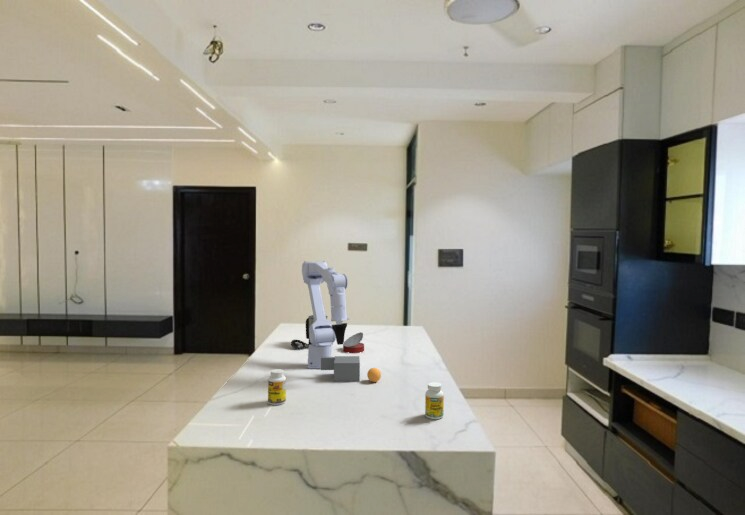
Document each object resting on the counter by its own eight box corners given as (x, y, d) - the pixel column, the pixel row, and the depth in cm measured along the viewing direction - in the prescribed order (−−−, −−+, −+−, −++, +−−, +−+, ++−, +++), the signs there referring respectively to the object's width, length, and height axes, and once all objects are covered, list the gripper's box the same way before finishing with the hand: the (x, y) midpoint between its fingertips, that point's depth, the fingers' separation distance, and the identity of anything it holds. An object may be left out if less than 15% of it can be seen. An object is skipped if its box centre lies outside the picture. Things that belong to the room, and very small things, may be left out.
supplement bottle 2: (439, 412, 135) (440, 380, 135) (446, 419, 130) (446, 386, 129) (422, 413, 134) (423, 381, 133) (428, 420, 129) (429, 387, 128)
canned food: (361, 362, 204) (362, 346, 199) (340, 359, 206) (340, 342, 201) (366, 346, 214) (367, 330, 209) (346, 343, 215) (346, 327, 210)
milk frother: (331, 346, 215) (331, 315, 214) (309, 353, 202) (310, 320, 201) (308, 342, 223) (308, 312, 222) (286, 348, 209) (286, 317, 209)
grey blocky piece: (320, 381, 162) (320, 360, 162) (321, 373, 172) (321, 354, 171) (359, 381, 163) (359, 360, 163) (359, 373, 172) (359, 354, 172)
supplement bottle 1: (264, 404, 139) (264, 372, 139) (273, 398, 145) (273, 367, 144) (280, 406, 138) (280, 374, 137) (289, 400, 143) (289, 369, 143)
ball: (367, 383, 160) (367, 370, 160) (367, 379, 165) (367, 366, 165) (381, 383, 161) (381, 370, 160) (380, 379, 166) (380, 366, 165)
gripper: (349, 305, 159) (351, 344, 158) (349, 305, 173) (351, 341, 172) (329, 307, 159) (331, 345, 157) (330, 307, 173) (332, 342, 172)
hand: (340, 343), depth 165 cm, fingers open, 7 cm apart
